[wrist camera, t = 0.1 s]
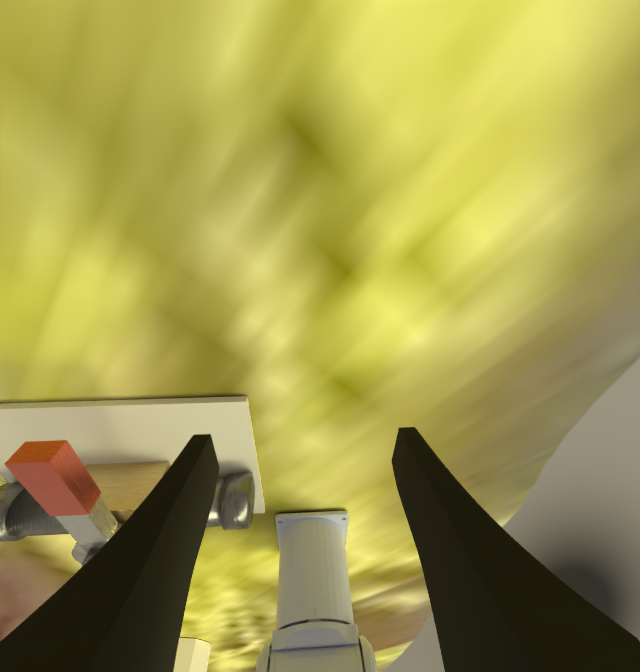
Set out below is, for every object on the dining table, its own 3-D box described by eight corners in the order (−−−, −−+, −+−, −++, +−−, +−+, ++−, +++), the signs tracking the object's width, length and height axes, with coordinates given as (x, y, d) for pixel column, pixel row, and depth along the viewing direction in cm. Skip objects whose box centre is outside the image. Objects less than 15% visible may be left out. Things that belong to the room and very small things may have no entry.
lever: (150, 547, 25) (139, 576, 23) (96, 550, 25) (81, 580, 23) (84, 439, 18) (61, 470, 16) (7, 442, 18) (-25, 473, 16)
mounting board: (265, 507, 32) (264, 513, 31) (50, 517, 31) (46, 523, 30) (247, 396, 23) (246, 401, 23) (-50, 404, 22) (-59, 410, 22)
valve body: (257, 492, 30) (251, 544, 26) (42, 502, 29) (1, 557, 25) (250, 452, 27) (242, 504, 23) (6, 461, 26) (-47, 518, 22)
